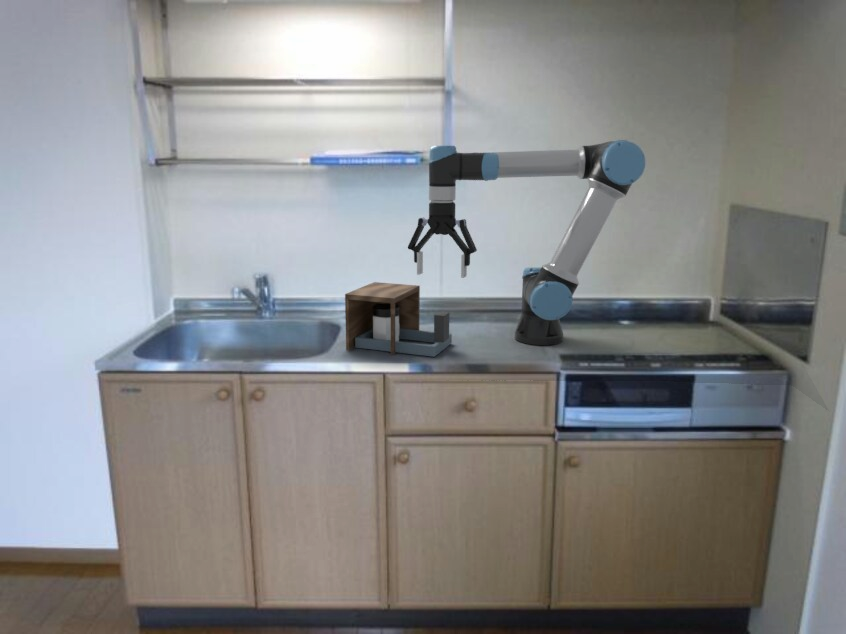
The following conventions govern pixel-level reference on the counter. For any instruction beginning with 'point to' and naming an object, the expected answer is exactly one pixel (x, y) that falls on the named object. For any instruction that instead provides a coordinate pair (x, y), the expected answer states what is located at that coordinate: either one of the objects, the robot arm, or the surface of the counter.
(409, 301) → the open box
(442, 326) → the tray
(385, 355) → the counter surface
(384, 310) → the jar
